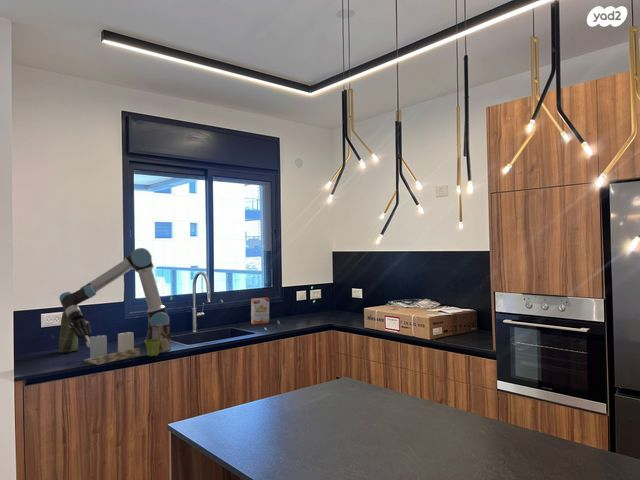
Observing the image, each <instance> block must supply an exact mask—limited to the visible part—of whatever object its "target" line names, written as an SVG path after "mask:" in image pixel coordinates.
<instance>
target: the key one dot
mask: <svg viewBox="0 0 640 480" xmlns="http://www.w3.org/2000/svg"><path fill="white" fill-rule="evenodd" d="M134 335H135V333H134V332H131V331H127V332H120V333H117V352H122V351H127V350H131V349H135V343H134V342H135V340H134V339H135V337H134Z"/></svg>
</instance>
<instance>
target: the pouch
mask: <svg viewBox="0 0 640 480" xmlns="http://www.w3.org/2000/svg"><path fill="white" fill-rule="evenodd" d="M61 314H62V316H61V318H60V319H61V320H60V329H59V330H60V331H59V337H58V340H59V341H58V350H57V351H58V353H60V354H62V353H63V354H64V353H72V352H79V351H78V350H79V338H78V337H77V336H76V335H75V334H74V332H73V331H72V330H71V329H70V328H68V325H69V324H70V323H71V322H70V321H69V318H68V316H67V314H66V312H65V311H63V312H62V313H61Z"/></svg>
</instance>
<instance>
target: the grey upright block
mask: <svg viewBox="0 0 640 480" xmlns="http://www.w3.org/2000/svg"><path fill="white" fill-rule="evenodd" d="M107 352H108V336H107V335H103V334H100V335H99V334H98V335H95V336H90V347H89V357H90V358H91V359H97V357H99V356H104V355H108V353H107Z"/></svg>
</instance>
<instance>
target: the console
mask: <svg viewBox="0 0 640 480" xmlns="http://www.w3.org/2000/svg"><path fill="white" fill-rule="evenodd" d="M140 353H141V351H140V348H139V347H136V348H134V349H131V350H127V351H122V352H118V351H117V352H113V353H107V355H104V356H99V357H97V359H91V358H86V359H83V362H84V363H89V364H93V365H98V366H99V365H102V364H108V363H113V362H115V361H120V360H125V359H129V358H134V357H137V356H141V355H140Z"/></svg>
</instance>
